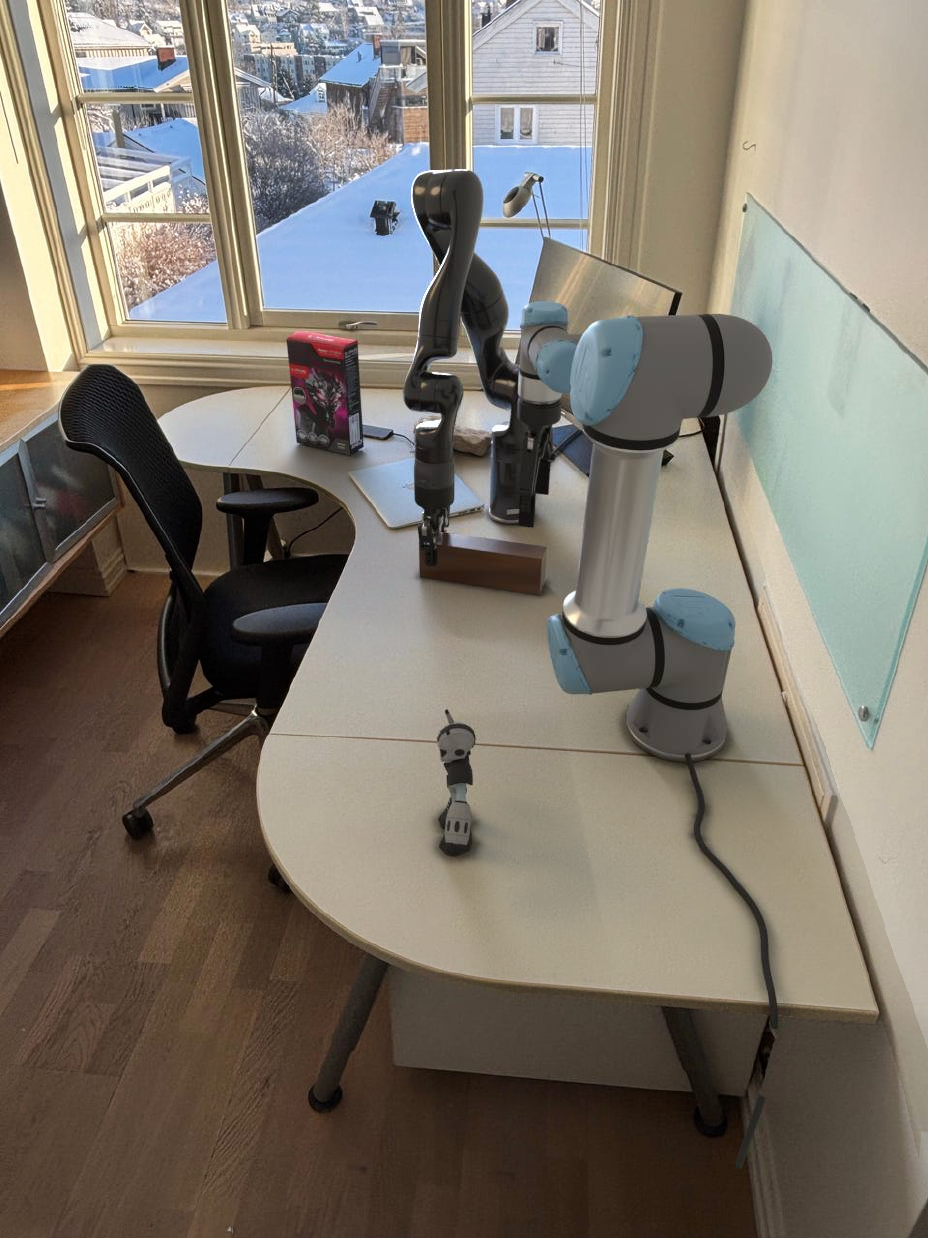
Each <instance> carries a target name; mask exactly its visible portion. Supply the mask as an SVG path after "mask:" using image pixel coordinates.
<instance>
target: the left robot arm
mask: <svg viewBox="0 0 928 1238" xmlns="http://www.w3.org/2000/svg"><path fill="white" fill-rule="evenodd" d="M411 205H412V208H413V212H414V216H415V219H416V221H417V224H418V225H419V228H420V230H421V232H422V235H423V236H424V238H425V239H426V242H427V243H428V245H429V247H430V249H431V251H432V253H433V255H434V257H435V259H436V261H437V264H438V266H439V270H438V271H437V273H436V275H435V276H434V278H433V280H432V281H431V282H430V285H429V286H428V288H427V290H426V291H425V294H424V296H423V299H422V302H421V305H420V310H419V319H418V320H419V321H418V332H417V342H416V348H415V351H414V354H413V358H412V361H411V365H410V368H409V370H408V372H407V375H406V378H405V380H404V384H403V388H402V399H403V403H404V405H405V406H406V408H407V409H408V410H409V411H411V412H416V413H424V414H425V413H426V414H434V415H440V417H441V419H440V420H436V421H429V422H424V423H421V424H419V425H418V426H417V427H416V429H415V434H414V433H413V434H414V435H413V437H414V440H413V441H414V464H413V489H414V490H413V492H414V495H413V496H414V501H415V504H416V505H417V506H418V507H420V508H421V509H422V510H423V512H422V514H421V522H422V524H418V525H417V535H418V536H417V537H418V545H419V544H420V550H423V551H425V565H427V566H433V567H434V566H436V564H437V540H438V538H439V537H440V535H441V532H446V533H448V530H447V528H449V527H450V516H451V506H452V505H453V504H454V502H455V483H456V482H455V481H456V479H455V473H456V472H455V470H456V469H455V462H454V461H455V460H454V449H453V435H454V428H455V424H456V423H457V418H458V415H459V411H460V409H461V405H462V402H463V398H464V394H465V393H464V392H465V391H464V385H463V382H462V380H461V379H460V378H459V376H458V375H455V374H452V373H445V372H434V371H429V369H430V367H431V365H432V364H433V363H434V362H436V361H440V360H447V359H449V360H450V359H452V358H455V356H456V355H457V353H458V347H459V336H460V328H461V327H460V324H462V326H463V329H464V331H465V333H466V336H467V339H468V343H469V345H470V347H471V350H472V354H473V356H474V359H475V363H476V366H477V370H478V375H479V379H480V382H481V383H480V384H481V386H482V390H483V393H484V395H485V398H486V400H487V401H488V402H489V403H490V404H491V405H493V406H494V407H496V408H499V409H502V410H505V411H508V412H510V415H509V420H506V421H502V422H499V423H497V424H496V425H494V426H493V427H492V429H491V434H492V436H491V444H490V476H489V478H490V481H489V483H490V484H489V509H488V515H489V517H490V518H491V519H492V520H493V521H495V522H497V523H500V524H507V525H518V520H519V498H520V495H517V494H515V489H517V490H518V484H519V476H520V469H521V461H522V454H523V439H524V437H525V432H526V431H528V427H529V426H528V425H527V424H525V423H522V422H521V421H520V420H519V419H518V417H517V412H518V398H519V397H520V396H519V395H518V382H519V370H520V364H517V363H514V362H512V361H511V359H509V357H508V354H507V352H506V350H505V348H504V347H505V346H504V344H503V337H504V334H505V331H506V329H507V326H508V322H509V317H510V310H509V309H510V308H509V304H508V301H507V298H506V296H505V292H504V290H503V286H502V284H501V282H500V281H501V280H500V278H499V277H498V275H497V274H496V273H495V271H494V270H493V269H492V268H491V267H490V266H489V265H488V264H487V263H486V262H485V260H483V259H482V257H481V256H479V255H478V254H477V253H476V252H475V248H476V244H477V239H478V236H479V231H480V227H481V223H482V222H481V221H482V217H483V212H484V189H483V184H482V182H481V180H480V177H479V176H478V174H476V173H475V172H474V171H473V170H469V169H447V170H446V169H444V170H442V169H441V170H428V171H423V172H421V173H419V174H417V176H416V177H415V178H414V180H413V183H412V186H411ZM580 431H581V430H579V429H578V428H576V430H574V431H573V432H572V433H571V434H569V435H568V436H567V437H566V438H565V439H563V441H561V442H560V443H559V444H558V445H557V447H555V448H554V451H553V453H551V454H555V455H556V453H557V452H558V451H559V450H560V449H561V448H562V447H563V446H564V445H565V444H567V442H569V441H570V440H571V439H572V438H573V437H574V436H576V434H577V433H579V432H580ZM548 461H550V460H548ZM433 531H437V532H436V533H433ZM433 539H434V540H433Z"/></svg>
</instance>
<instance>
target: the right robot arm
mask: <svg viewBox="0 0 928 1238" xmlns="http://www.w3.org/2000/svg"><path fill="white" fill-rule="evenodd" d="M569 324H570V323H569V311H568V308H567V307H566V306H565V305H564V304H562V303H559V302H555V301H545V300H543V301H533V302H530V303H527V304H526V305H525V306H524V307H523V309H522V313H521V322H520V325H519V328H520V343H519V344H520V345H519V347H520V349H519V365H520V370H519V382H518V395H519V396H520V397H519V398H518V412H517V417H518V419H519V420H520V421H521V422H522V423H525V424H527V425H528V426H529V427H528V431H526V432H525V437H524V439H523V454H522V461H521V469H520V476H519V484H518V490H517V489H515V494H517V495H520V498H519V520H518V524H517V526H518V527H523V528H530V529H534V527H535V518H536V517H535V516H536V499H537V495H543V496H549V493H550V480H551V478H550V477H551V463H552V462H551V461H555V459H556V453H555V454H551V453H553V451H554V450H555V448H554V433H553V426H554V425H556V424H558V423H559V422H560V421H561V418H562V409H563V400H562V396H563V394H569V401H570V409H571V411H572V415H573V417H574V419H575V420H576V421H577V422H578V423H580V424H581V425H582V429H581V430H582V432H583V434H584V435H585V436H586V438H587V439H588V440H589V441H590V442H592V448H591V456H590V457H591V458H590V465H589V473H588V474H589V475H588V484H587V491H586V501H585V508H584V516H583V525H582V526H583V527H582V533H581V534H582V535H581V542H580V543H581V544H580V551H579V561H578V569H577V577H576V578H577V579H576V587H575V590H573V591H572V592H570V593H569V594H567V596H566V598H565V599H564V600H563V605H562V612H561V614H559V613H555V614H553V615H550V616H549V617H548V619H547V621H546V635H547V645H548V650H549V655H550V660H551V665H552V668H553V669H552V670H553V673H554V675H555V678H556V682H557V683H558V685H559V687H560V689H561V690H562V691H563V692H564V693H566V694H568V695H589V696H592V695H594V694H602V693H612V692H621V691H630V690H638V691H637V692H636V694H635V695H634V697H633V699H632V701H631V702H630V704H629V706H628V708H627V713H626V719H625V728H626V732H627V734H628V736H629V738H630V739H631V741H632V742H634V744H636V745H637V746H638V747H639V748H640V749H641V750H643V751H645V752H646V753H648V754H650V755H651V756H654V757H656V758H659V759H662V760H666V761H670V762H675V763H686V765H687V768H688V771H689V775H690V778H691V782H692V785H693V787H694V790H695V794H696V797H697V812H696V816H695V819H694V823H693V835H694V839H695V841H696V844H697V846H698V847H699V849H700V851H701V852H702V853H703V855H704V856H705V857H706V858H707V859H708V860H709V861H710V862H711V864H713V865H714V866H715V867H716V868H717V870H719V871H720V872H721V873H722V874H723V876H724V877H725V878H726V879H727V881H728V882H729V884H731V886H732V887H733V888H734V890H735V891H736V892H737V893H738V894H739V895H740V897H741V898H742V899H743V901H744V902H745V904H746V905H747V906H748V908H749V910H750V911H751V912H752V914H753V917H754V919H755V921H756V924H757V926H758V930H759V931H758V932H759V938H760V959H761V960H760V961H761V967H762V973H763V978H764V984H765V987H766V992H767V999H768V1008H769V1026H770V1028H771V1029H773V1030H777V1029H779V1011H778V1010H779V1008H778V1000H777V995H776V989H775V984H774V981H773V976H772V971H771V965H770V952H769V951H770V950H769V936H768V930H767V929H768V928H767V925H766V923H765V919H764V917H763V914H762V912H761V910H760V909H759V907H758V905H757V904H756V902H755V900H754V899H753V897H752V896H751V895H750V894H749V893H748V891H747V890H746V889H745V888H744V887H743V886H742V884H741V883H740V882H739V880H737V878H736V877H735V876H734V874H733V873H732V872H731V871H730V869H728V867H727V866H726V865H725V864H724V863H723V862H722V861H721V860H720V859H719V858H718V857H717V856H716V855H715V854H714V853H713V852H712V851H711V850H710V849H709V847H708V845H706V843H705V841H704V840H703V837H702V833H701V826H702V822H703V819H704V814H705V811H706V810H705V809H706V808H705V807H706V803H705V797H704V793H703V789H702V787H701V784H700V781H699V778H698V774H697V772H696V768H695V764H694V762H700V761H703V760H706V759H709V758H711V757H714V755H716V754H718V752H720V751H721V750H722V748H723V747H724V744H725V743H726V740H727V739H726V738H727V733H728V721H727V716H726V712H725V708H724V707H725V706H724V701H723V692H724V686H725V682H726V678H727V674H728V673H727V672H728V668H729V664H730V659H731V654H732V651H733V650H732V649H733V648H734V646H735V634H736V618H735V617H734V614H733V612H732V611H731V609H730V608H729V607H728V606H727V605H726V604H725V603H723V602H722V601H721V600H719V599H718V598H716V597H715V596H712V595H710V594H707V593H706V592H704V591H703V592H702V591H699V590H695V589H690V588H681V587H680V588H669V589H665V590H663V591H662V592H661V593H659V594H658V595H657V596H656V598H655V599H654V601H653V606H649V607H646V606H645V604H644V602H643V601H642V600H641V599H640V593H641V586H642V581H643V575H644V570H645V569H644V568H645V562H646V558H647V552H648V551H647V550H648V545H649V541H650V532H651V528H652V522H653V515H654V511H655V510H654V509H655V504H656V498H657V491H658V485H659V481H660V474H661V469H662V464H663V463H662V462H663V457H664V451H665V450H668V449H669V448H671V447H673V446H674V445H675V444H676V443H677V442H678V440H679V438H680V435H681V434H680V433H681V428H682V423H683V420H687V419H698V418H699V419H701V418H711V417H718V416H723V415H727V414H729V413H733V412H735V411H737V410H740V409H741V408H743V407H744V406H747V405H748V404H750V403H751V402H752V401H754V399H756V398H757V397H758V396H759V395H760V393H761V392H762V391H763V389H764V388H765V387H766V385H767V383H768V381H769V379H770V376H771V372H772V371H773V370H772V369H773V351H772V348H771V344H770V342H769V340H768V337H766V335H765V334H764V332H763V331H762V330H761V329H760V328H759V327H758V326H757V325H755V324H754V323H752V322H750V321H748V320H747V319H745V318H742V317H739V316H736V315H732V314H731V315H730V314H724V313H703V314H676V315H675V314H674V315H673V314H672V315H671V314H670V315H648V316H647V315H646V316H645V315H643V316H635V315H634V314H632V315H631V314H629V315H628V314H626V315H624V316H621V317H612V318H604V319H599V320H596V321H595V322H593V323H591V324H590V325H588V327H587V329H586V330H585V331H584V332H583V333H572V334H570V333H569V332H568V326H569ZM548 460H549V461H548ZM766 1099H767V1097H766V1096H763V1095H761V1094H757V1096H756V1101H755V1105H754V1108H753V1111H752V1114H751V1116H750V1120H749V1123H748V1125H747V1128H746V1131H745V1134H744V1136H743V1138H742V1142H741V1145H740V1148H739V1151H738V1155H737V1157H736V1160H735V1167H736V1168H737V1169H742V1168H743V1167H744V1163H745V1160H746V1157H747V1155H748V1151H749V1148H750V1145H751V1143H752V1141H753V1138H754V1135H755V1132H756V1130H757V1126H758V1124H759V1121H760V1118H761V1115H762V1112H763V1108H764V1107H765V1103H766Z"/></svg>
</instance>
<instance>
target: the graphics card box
mask: <svg viewBox="0 0 928 1238" xmlns="http://www.w3.org/2000/svg"><path fill="white" fill-rule="evenodd" d="M285 341H286V348H287V349H286V350H287V359H288V369H289V378H290V389H291V398H292V408H293V420H294V428H295V441H296V444H300V445H304V446H309V447H314V448H317V449H321V450H326V451H330V452H334V453H340V454H343V455H348V456H351V455H353V454H354V453H356V452H358V451H359V450H361V449H363V448H364V445H365V443H364V428H363V427H364V426H363V424H364V423H363V411H362V409H363V408H362V396H361V377H360V361H359V341H358V339H350V338H343V337H339V336H333V335H330V334H329V335H328V334H324V333H318V332H313V331H312V332H311V331H306V330H298V331H295V332H293V333H292V334H290V335H289V336H288V337H286V340H285Z"/></svg>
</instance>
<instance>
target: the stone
mask: <svg viewBox="0 0 928 1238" xmlns="http://www.w3.org/2000/svg"><path fill="white" fill-rule="evenodd" d="M440 419H441V416H436V415H429V416H422V417H420V418H419V419H418V420H417V421H415V422H414V424H413V427H414V428H413V430H412V431H413V434H415V429H416V427H417V426H418V425H419V424H421V423H424V422H429V421H436V420H440ZM491 436H492V432H489V431H488V430H487V431H486V430H482V429H474V428H470V427H463V426H460V425H457V424H456V423H455V428H454V435H453V450H457V451H459V452H464V453H471V454H474V455H475V456H478V457H483V456H484V455H485V454H486V452H487V449H488V448H489V446H491Z"/></svg>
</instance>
